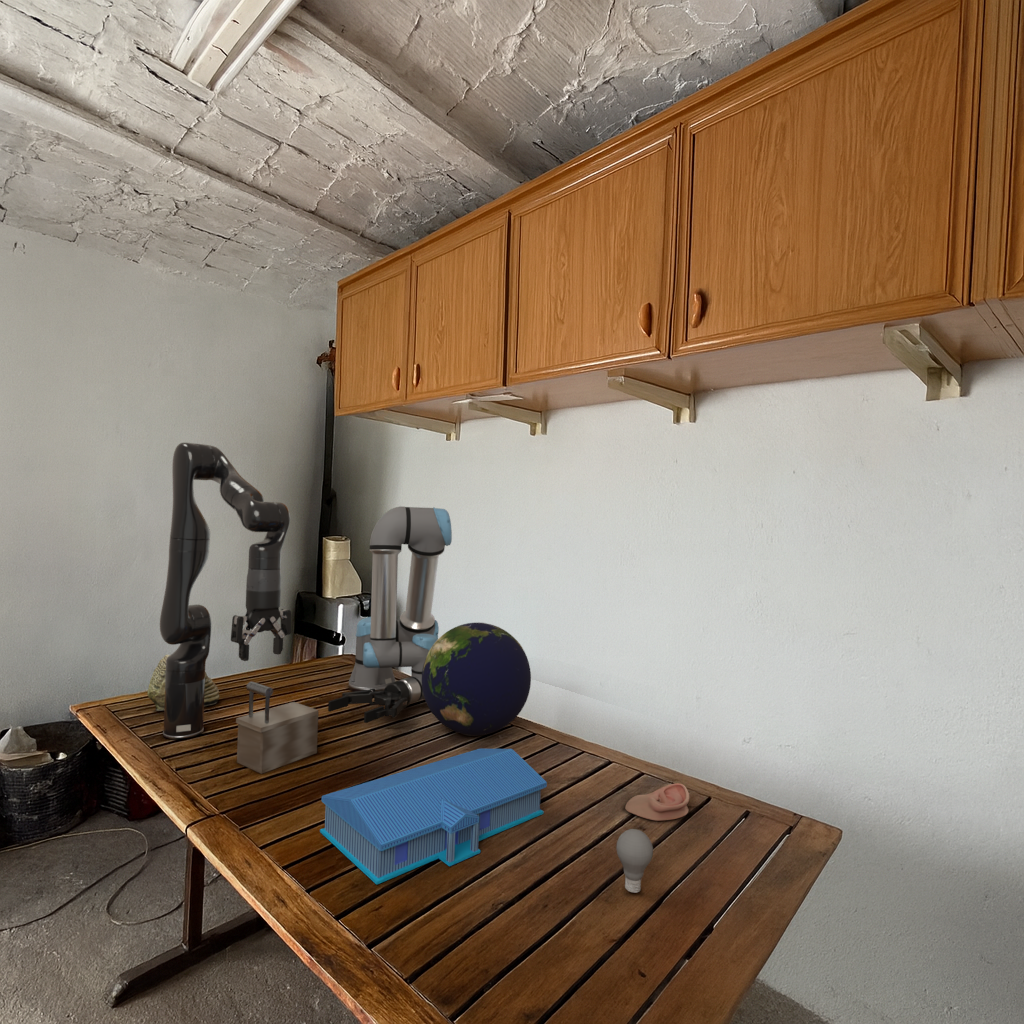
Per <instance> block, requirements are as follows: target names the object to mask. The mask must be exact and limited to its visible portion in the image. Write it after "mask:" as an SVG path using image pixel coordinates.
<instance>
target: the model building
mask: <svg viewBox="0 0 1024 1024" xmlns="http://www.w3.org/2000/svg"><path fill="white" fill-rule="evenodd" d="M547 786H548V781H546V780H545V779H544V778H543V777H542V776H541V775H540V774H539V773H538V772H537V771H536V770H535V769H534V768H533V767H532V766H531V765H529V763H528V762H527V761H526V760H524V758H523V757H521V755H520V754H519V753H518V752H516V751H515V750H514V749H513V748H482V747H481V748H480V747H479V748H477V749H474V750H471V751H467V752H464V753H460V754H457V755H454V756H449V757H447V758H444V759H440V760H437V761H434V762H430V763H427V764H423V765H420V766H416V767H413V768H410V769H407V770H403V771H400V772H397V773H393V774H390V775H387V776H384V777H379V778H377V779H374V780H370V781H366V782H363V783H360V784H356V785H354V786H350V787H347V788H344V789H339V790H337V791H333V792H330V793H327V794H323V795H321V802H322V803H323V804H324V805H325V810H324V811H325V813H324V828H321V829H319V833H320V834H321V835H322V836H323V837H324V838H326V839H327V840H328V842H330V843H331V844H332V845H333V846H334V847H336V848H337V850H338V851H340V852H341V853H342V854H343V855H344V856H345V857H346V858H347V859H348V860H349V861H351V863H352V864H354V865H355V866H356V867H357V868H358V869H359V870H360V871H361V872H362V873H363V874H364V875H365V876H367V877H368V878H369V879H370V880H371V881H372V882H373V883H374V884H375V885H381V884H382V883H384V882H387V881H389V880H391V879H394V878H397V877H398V876H401V875H404V874H405V873H408V872H410V871H412V870H415V869H417V868H419V867H422V866H424V865H427V864H429V863H431V862H434V861H436V860H440V861H441V862H442V863H444V864H445V865H447V866H448V867H452V866H455V865H456V864H458V863H461V862H463V861H465V860H467V859H470V858H473V857H474V856H477V855H479V854H481V849H480V848H479V842H481V841H483V840H486V839H487V838H490V837H492V836H495V835H497V834H499V833H502V832H504V831H506V830H509V829H511V828H513V827H516V826H518V825H520V824H523V823H525V822H527V821H530V820H532V819H534V818H537V817H539V816H542V815H544V813H545V811H544V810H542V809H541V792H542V791H541V790H544V789H546V788H547Z"/></svg>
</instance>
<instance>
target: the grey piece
mask: <svg viewBox="0 0 1024 1024" xmlns="http://www.w3.org/2000/svg"><path fill="white" fill-rule="evenodd" d="M246 690H247V691H248V693H249V694H248V695H249V696H248V699H249V700H248V714H245V715H242V716H239V717H236V718H235V723H236V724H237V725H238V724H240V725H243V726H245V727H248V728H250V729H253V730H255V731H258V732H260V733H262V732H265V731H268V730H271V729H274V728H277V727H281V726H284V725H287V724H290V723H293V722H296V721H300V720H303V719H306V718H309V717H312V716H315V715H318V716H319V710H318V709H316V708H313V707H310V706H308V705H304V704H301V703H300V702H299V703H298V702H295V701H292V702H289V703H285V704H281V705H278V706H274V707H270V701H271V696H272V695H273V693H274V689H273V688H272V687H270V686H267V685H264V684H261V683H258V682H255V681H249V682H248V683H247V684H246ZM254 693H255V694H258V695H260V696H263V697H265V698H264V699H265V700H264V701H265V702H264V710H260V711H256V712H254Z"/></svg>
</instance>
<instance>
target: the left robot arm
mask: <svg viewBox="0 0 1024 1024" xmlns="http://www.w3.org/2000/svg"><path fill="white" fill-rule="evenodd" d="M171 473H172V474H171V475H172V510H171V523H170V533H169V543H168V544H169V545H168V564H167V572H166V573H167V574H166V582H165V590H164V595H163V600H162V606H161V610H160V617H159V632H160V636H161V638H162V641H164V642H165V643H166V644H168V645H173V646H174V645H179V646H178V647H177V648H176V649H175V651H174V652H173V653H170V654H169V655H170V656H169V657H168V658H167V660H166V674H165V705H164V710H163V731H162V737H164V738H166V739H169V740H185V739H190V738H191V739H192V738H194V737H197V736H199V735H202V734H203V732H204V730H205V729H204V722H205V721H204V718H205V706H204V693H205V672H206V664H207V663H206V662H207V659H208V657H209V653H210V647H211V639H212V637H211V636H212V617H211V614H210V612H209V610H208V609H207V608H206V607H205V605H202V604H190V600H191V599H190V598H191V593H192V589H193V587H194V584H195V583H196V580H198V577H199V575H200V574H201V572H202V571H203V569H204V568H205V565H206V563H207V561H208V559H209V556H210V543H211V530H210V527H209V525H208V522H207V521H206V518H205V517H204V515H203V514H202V512H201V510H200V508H199V506H198V504H197V501H196V498H195V491H194V481H213V482H215V483H217V484H219V494H220V497H221V498H222V500H223V502H225V503H226V504H227V505H228V506H229V507H230V508H232V509H233V510H234V511H235V512H236V514H237V517H238V518H239V521H240V523H241V525H242V527H243V528H245V529H246V530H247V531H250V532H252V533H266V534H265V537H264V538H263V539H262V540H260V541H257V542H254V543H252V544H250V545H249V548H248V561H247V562H248V563H247V565H248V566H247V567H248V568H247V574H246V582H245V583H246V584H245V586H246V588H245V609H246V612H245V614H244V615H237V614H234V615H233V616H232V621H231V631H230V641H231V643H232V642H233V643H235V644H238V658H239V659H240V660H241V661H243V662H247V661H249V660H250V644H249V643H250V642H251V641H252V639H253V638H254V637H255V636H256V635H257V633H263V632H271V633H272V635H273V636H274V637H273V641H272V654H274V655H277V656H278V655H282V652H283V650H284V638H285V637H286V636H288V635H291V634H292V611H291V610H290V609H287V608H281V609H280V607H281V599H282V598H281V597H282V596H281V595H282V594H281V593H282V571H281V568H282V567H281V565H282V550H283V548H284V544H285V540H286V537H287V534H288V531H289V528H290V524H291V514H290V510H289V508H288V507H287V505H286V504H285V503H283V502H281V501H265V499H264V496H263V494H262V493H261V492H260V491H259V490H258V489H257V488H256V487H254V486H253V485H252V484H251V483H250V482H248V481H247V480H246V479H245V478H243V477H242V475H241V474H240V473H239V472H238V471H237V469H236V468H235V467H234V466H233V464H232V462H231V461H230V460H229V459H228V457H227V456H226V454H224V452H223V451H222V450H221V449H219V448H218V447H217V446H214V445H211V444H204V443H203V444H202V443H195V442H180V443H179V444H177V446H176V447H175V449H174V451H173V455H172V467H171ZM278 620H280V624H279V623H278ZM245 624H246V625H245Z"/></svg>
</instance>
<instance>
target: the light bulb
mask: <svg viewBox="0 0 1024 1024" xmlns="http://www.w3.org/2000/svg"><path fill="white" fill-rule="evenodd" d="M615 849H616V854H617V857H618V859H619V861H620V863H621V865H622V867H623V873H624V874H623V875H624V876H625V878H624V888H625V890H627V891H628V892H630V893H634V894H635V893H639V892H640V891H641V889H642V887H641V886H642V879H643V877H644V875H645V871H646V868H647V867H648V866H649V864H650V863H651V861H652V859H653V855H654V847H653V843H652V841H651V838H649V836H648V835H647V834H646V833H645V832H643V831H642V830H641V829H636V828H629V829H627V830H625V831H623V832H622V833H621V834H620V835H619V837H618V839H617V841H616V847H615Z"/></svg>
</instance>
